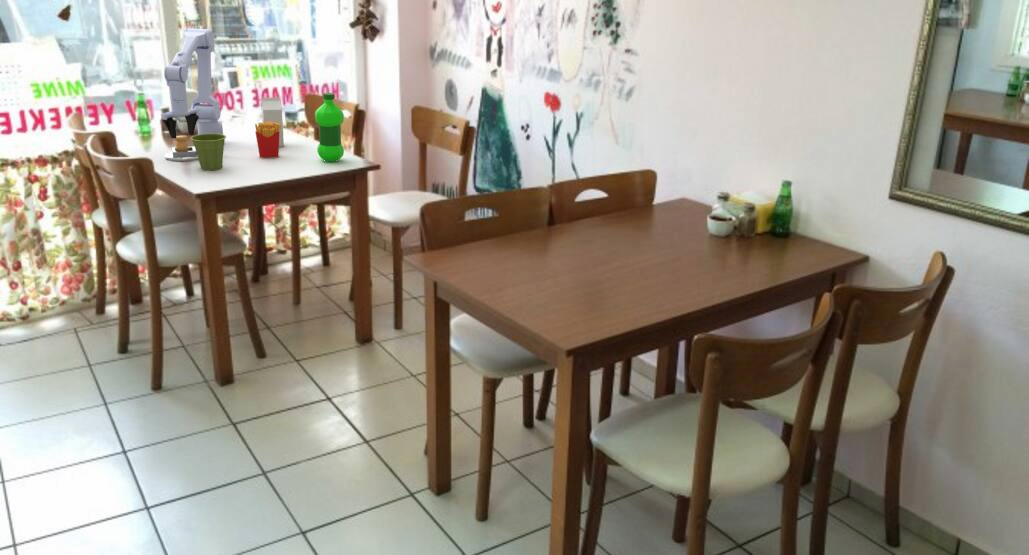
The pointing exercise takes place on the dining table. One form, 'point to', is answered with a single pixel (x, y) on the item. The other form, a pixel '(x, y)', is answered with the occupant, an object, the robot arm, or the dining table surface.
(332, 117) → the plastic bottle
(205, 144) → the plant pot
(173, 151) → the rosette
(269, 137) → the french fries
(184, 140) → the pin
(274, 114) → the milk carton
